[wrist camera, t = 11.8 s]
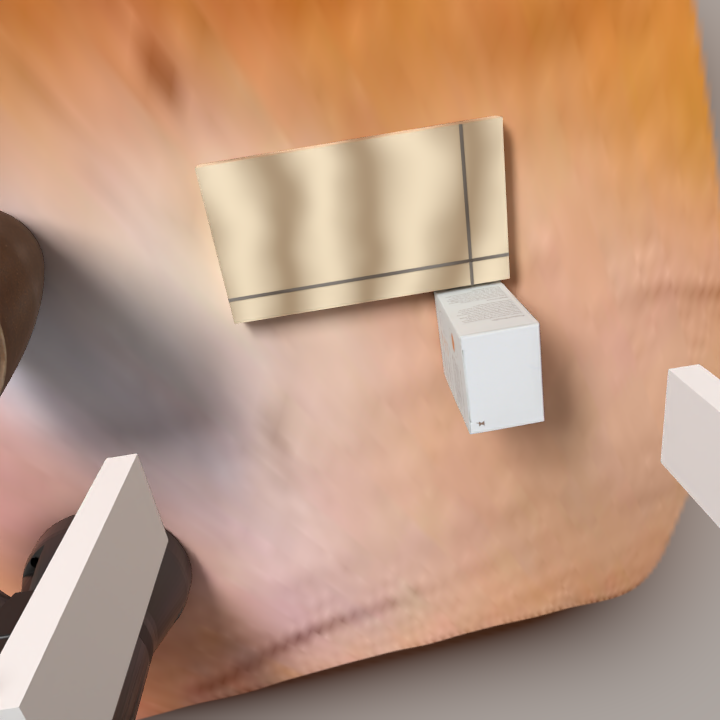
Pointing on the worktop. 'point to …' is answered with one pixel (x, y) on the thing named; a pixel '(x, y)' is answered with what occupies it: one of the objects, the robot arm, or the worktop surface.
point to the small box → (491, 356)
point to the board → (360, 219)
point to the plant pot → (17, 292)
